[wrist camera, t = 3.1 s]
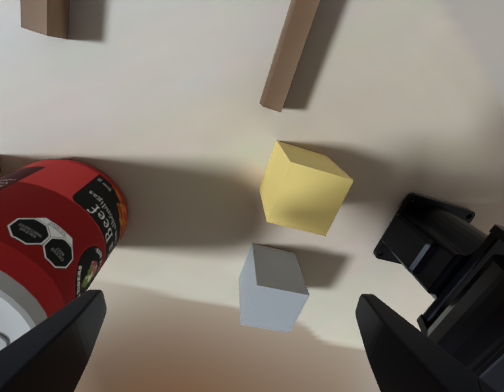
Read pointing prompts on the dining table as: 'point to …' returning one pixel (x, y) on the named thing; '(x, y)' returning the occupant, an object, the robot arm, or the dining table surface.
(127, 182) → the dining table surface
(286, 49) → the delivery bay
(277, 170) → the ochre block
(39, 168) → the canned food
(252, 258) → the grey block
